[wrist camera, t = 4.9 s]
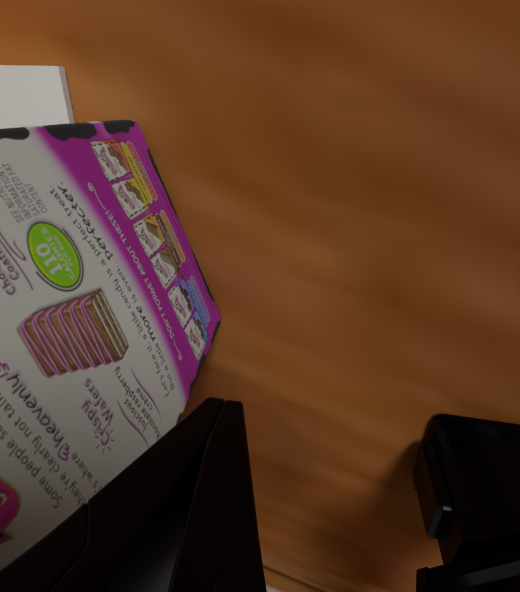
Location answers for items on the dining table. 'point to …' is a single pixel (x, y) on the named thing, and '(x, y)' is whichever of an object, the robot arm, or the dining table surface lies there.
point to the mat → (34, 96)
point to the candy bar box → (88, 318)
